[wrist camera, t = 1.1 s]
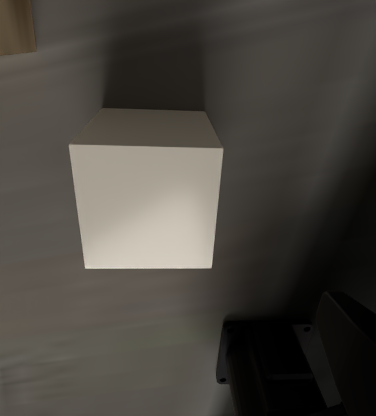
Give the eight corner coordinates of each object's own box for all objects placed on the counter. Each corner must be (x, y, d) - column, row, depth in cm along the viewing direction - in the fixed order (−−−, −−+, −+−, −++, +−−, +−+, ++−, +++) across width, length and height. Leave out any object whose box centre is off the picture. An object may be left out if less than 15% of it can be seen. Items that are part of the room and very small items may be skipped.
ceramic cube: (198, 201, 18) (211, 268, 13) (109, 199, 18) (85, 268, 13) (204, 111, 16) (223, 148, 11) (102, 107, 16) (68, 144, 10)
